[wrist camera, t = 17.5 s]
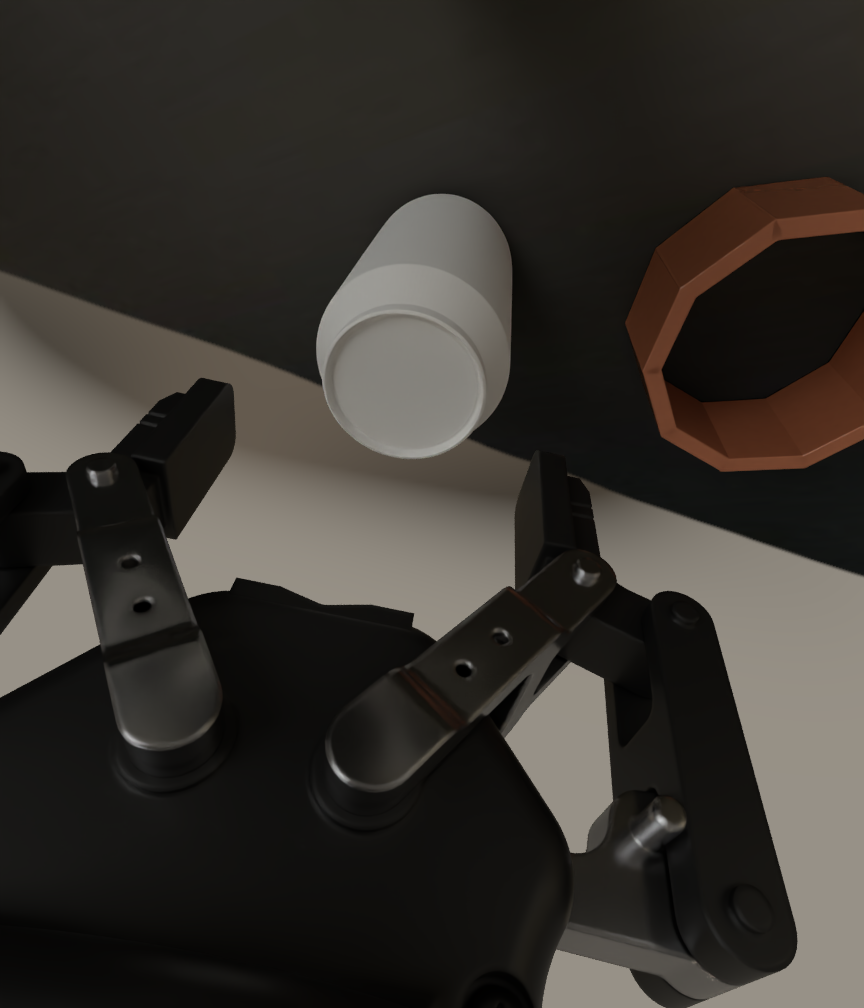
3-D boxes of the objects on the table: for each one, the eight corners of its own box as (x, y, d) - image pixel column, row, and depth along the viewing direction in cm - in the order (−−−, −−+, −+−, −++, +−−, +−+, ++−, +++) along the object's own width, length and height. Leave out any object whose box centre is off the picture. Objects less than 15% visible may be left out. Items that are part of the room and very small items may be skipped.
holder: (595, 392, 29) (607, 447, 25) (696, 146, 22) (733, 171, 18) (793, 435, 29) (833, 496, 26) (954, 205, 22) (1044, 241, 19)
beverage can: (534, 215, 24) (543, 327, 15) (486, 346, 28) (470, 498, 19) (393, 167, 24) (314, 253, 15) (364, 307, 28) (288, 444, 19)
